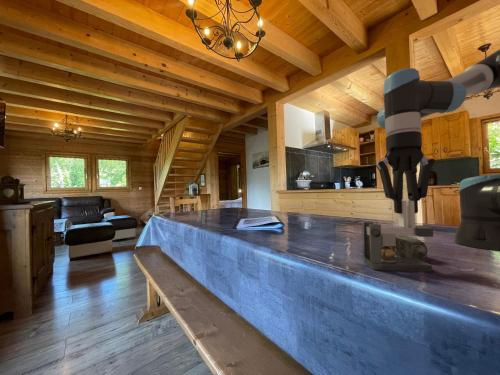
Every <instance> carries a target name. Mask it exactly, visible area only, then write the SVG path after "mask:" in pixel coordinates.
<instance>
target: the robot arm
mask: <svg viewBox="0 0 500 375" xmlns="http://www.w3.org/2000/svg"><path fill="white" fill-rule="evenodd" d="M383 82H384V84H383V94H382V96H383V107H384V108H382V109H381V110H380V111H378V113H377V117H376V120H377V123H378V125H379V126H380V128H381V129H384V130H385V131H384V132H385V135H386V137H385V151H386V153H385V154H384V158H383V159H382V160H380V161H376V162H375V164H374V165H375V167H376V168H377V170H378V171H379V176H380V181H381V184H382V188H383V191H384V196H385V198H386V199H390V200H392V201H393V210H394V211H393V212H394V213H395V214H397V220H398V221H397V223H398V224H397V225H398V226H401V227H407V226H409V227H415V225H416V216H415V215H416V214H418V213H419V203H418V202H419V201H420V200H421V199H425V198H427V196H428V189H429V184H430V177H431V171H432V167H433V166H434V164H435V162H436V159H435V158H428V157H426V156H425V155H424V154H425V153H424V152H423V151H422V148H423V147H422V146H423V137H422V135H423V134H422V132H420V131H421V130H422V119H423V118H425V117H428V116H430V115H433V114H437V113H439V114H444V113H451V112H454V111H457V109H459V108H460V107H461V106H462V105H463V104H464V102H465V100H466V98H467V96H469V95H471V96H473V95H479V94H482V93H483V92H486V91H489V90H493V89H495V88H499V87H500V49H498V50H496V51H494V52H493V53H491V54H490V55H487V56H486V57H485V58H483V59H481V60H480V61H478V62H476V63H474V64H472V65H470V66H468V67H466V68H465V69H464V70H463V71H462V72H461V73H459V74H457V75H455V76H453V77H450V78H448V79H445V80H423V79H422V80H421V76H420V72H419V70H418V69H416V68H415V67H409V68H403V69H402V68H401V69H399V70H395V71H394V72H392V73H390V74H389V75H388V76H387V77H386V78H385V80H384V81H383ZM418 165H419V166H420V168H419V171H418ZM388 166H390V167H391V170H392V171H391V172H392V177H391V175H390V171H389V168H388ZM417 173H418V176H417ZM404 175H405V181H406V182H405V183H406V191H407V199H406V200H403V199H404ZM391 178H392V179H391ZM458 193H459V206H460V209H459V211H460V212H459V213H460V222H459V224H458V226H457V228H456V233H455V235H454V242H455V243H456V244H458V245H462V246H464V247H465V246H466V247H470V248H471V247H472V248H475V249H482V250H483V249H484V250H490V249H494V250H493V251H500V173H499V174H498V173H497V174H488V175H487V174H486V175H479V176H478V175H477V176H473V177H472V176H471V177H467V178H464V179H462V180H461V181H460V182H459V191H458Z"/></svg>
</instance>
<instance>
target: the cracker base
mask: <svg viewBox="0 0 500 375" xmlns="http://www.w3.org/2000/svg"><path fill="white" fill-rule="evenodd" d="M366 226H369V235H368V234H367V231H366ZM381 226H382V225H381V224H377V223H376V224H374V222H373V221H362V243H363V244H362V245H363V246H362V247H363V262H364V263H365V264H366V265H367V266H368V267H369V268H370V269H371V270H373V271H393V272H394V271H395V272H396V271H399V272H400V271H401V272H402V271H403V272H404V271H405V272H428V273H429V272H430V273H431V272H432V271H433V268H432V267H433V266H432V264H429V263H428V262H426V261H424V260H422V259H421V258H420V259H418V258H415V257H398V256H395V251H394V250H393V248H391V247H389V246H382V245H381Z"/></svg>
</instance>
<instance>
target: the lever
mask: <svg viewBox="0 0 500 375" xmlns="http://www.w3.org/2000/svg"><path fill="white" fill-rule="evenodd" d="M366 231H367V234H368V235H369V226H366ZM396 236H408V237H420V238H422V237H423V238H429V237H430V238H431V237H432V238H433V237H434V228H432V227H429V226H426V225H421V224H419V225H416V224H415V227H409V226H407V227H401V226H397V225H387V226H386V225H385V226H384V225H381V245H382V246H396Z"/></svg>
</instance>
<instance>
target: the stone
mask: <svg viewBox="0 0 500 375" xmlns="http://www.w3.org/2000/svg"><path fill="white" fill-rule="evenodd" d="M389 247H391V248H393V250H394V251H395V257H415V258H418V259H420V260H421V258H426V257H427V255H428V252H429V251H428V247H427V246H426V243H425V242H424V241H423V240H421V239H419V238H418V239H417V238H416V237H415V238H414V237H413V236H396V246H389Z"/></svg>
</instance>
